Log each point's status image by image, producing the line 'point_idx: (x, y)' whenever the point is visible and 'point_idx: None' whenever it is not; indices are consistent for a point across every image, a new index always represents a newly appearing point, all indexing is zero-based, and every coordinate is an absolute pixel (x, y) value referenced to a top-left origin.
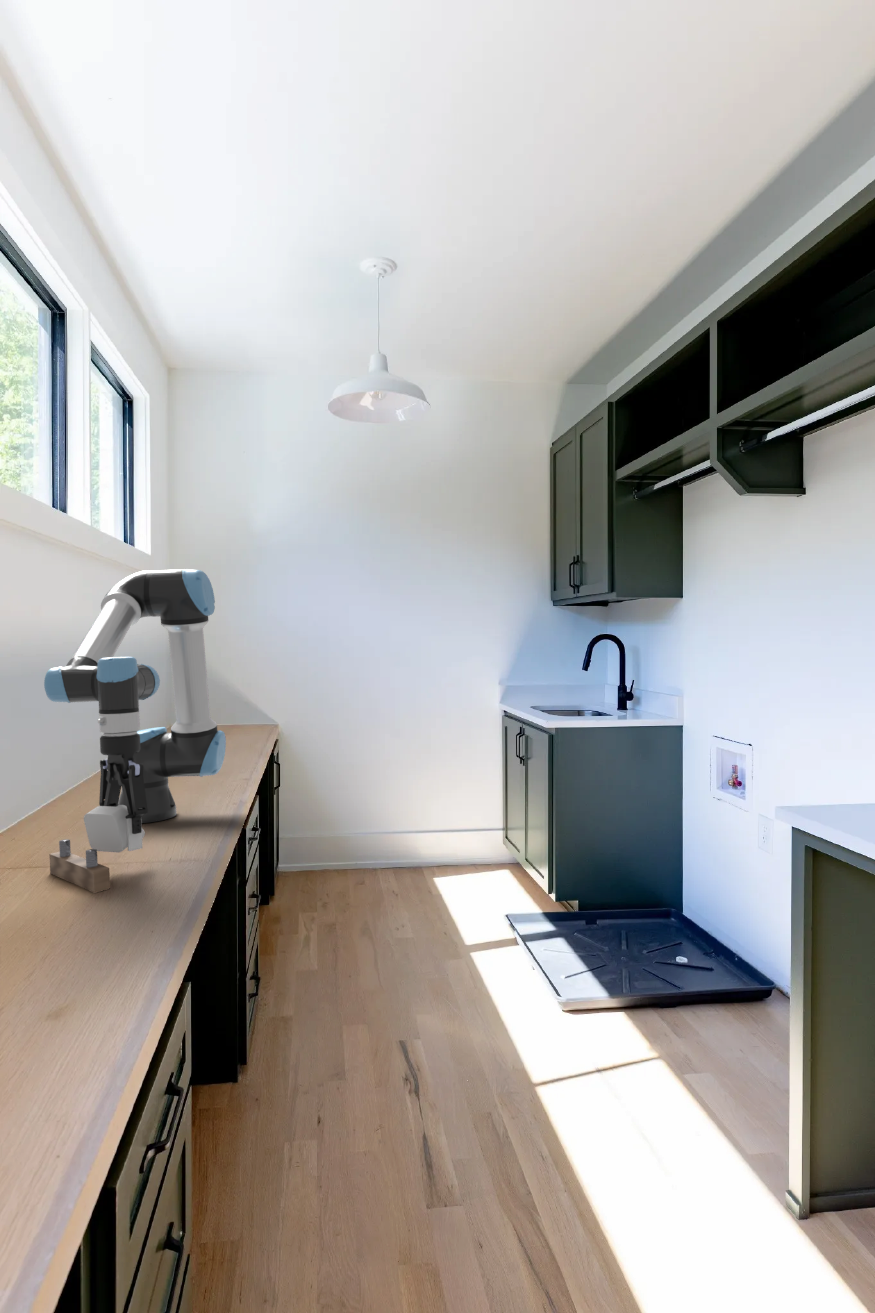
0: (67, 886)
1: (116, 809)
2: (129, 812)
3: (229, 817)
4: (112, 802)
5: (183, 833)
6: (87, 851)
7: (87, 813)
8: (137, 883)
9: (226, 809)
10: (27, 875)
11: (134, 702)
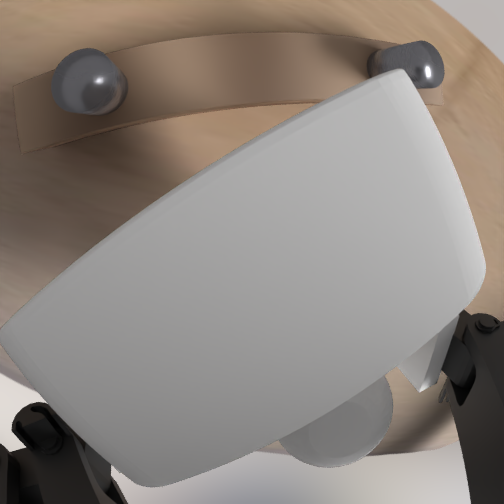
0: (201, 32)
1: (127, 440)
2: (58, 461)
3: (420, 446)
4: (472, 397)
5: (421, 400)
6: (71, 56)
7: (384, 84)
8: (61, 238)
9: (450, 437)
10: (415, 19)
11: None
